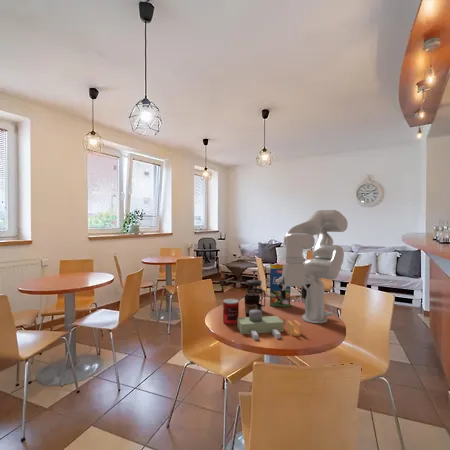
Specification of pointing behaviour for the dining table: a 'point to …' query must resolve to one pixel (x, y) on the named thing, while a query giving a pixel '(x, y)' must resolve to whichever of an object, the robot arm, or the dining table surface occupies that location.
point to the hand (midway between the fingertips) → (293, 298)
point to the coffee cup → (251, 302)
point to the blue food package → (274, 289)
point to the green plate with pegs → (260, 324)
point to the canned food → (230, 311)
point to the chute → (294, 328)
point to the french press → (256, 289)
